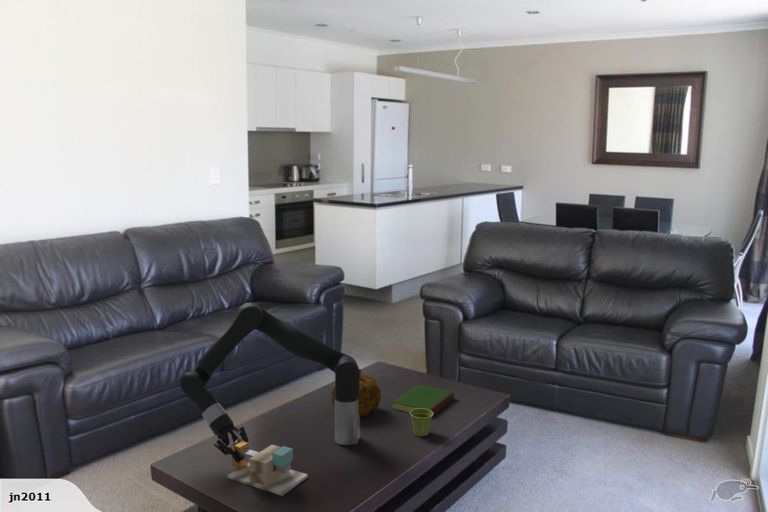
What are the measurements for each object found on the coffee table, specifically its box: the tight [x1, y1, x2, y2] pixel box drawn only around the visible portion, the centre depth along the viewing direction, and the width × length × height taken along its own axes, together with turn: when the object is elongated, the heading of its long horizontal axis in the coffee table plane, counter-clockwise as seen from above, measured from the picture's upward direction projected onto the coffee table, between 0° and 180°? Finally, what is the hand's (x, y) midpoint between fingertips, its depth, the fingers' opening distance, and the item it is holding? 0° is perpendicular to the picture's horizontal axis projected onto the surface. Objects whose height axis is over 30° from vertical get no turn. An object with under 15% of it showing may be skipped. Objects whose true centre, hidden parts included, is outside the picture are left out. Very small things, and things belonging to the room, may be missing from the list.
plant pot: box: [409, 408, 434, 437], centre depth 254 cm, size 9×9×9 cm
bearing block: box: [249, 444, 284, 486], centre depth 219 cm, size 7×12×9 cm, turn 151°
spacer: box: [272, 445, 294, 467], centre depth 215 cm, size 4×6×4 cm, turn 151°
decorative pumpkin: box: [330, 368, 382, 418], centre depth 273 cm, size 20×21×20 cm
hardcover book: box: [391, 384, 455, 416], centre depth 285 cm, size 25×19×4 cm
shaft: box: [231, 441, 292, 473], centre depth 220 cm, size 23×4×8 cm, turn 61°
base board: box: [226, 464, 309, 497], centre depth 220 cm, size 24×14×1 cm, turn 61°
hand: (244, 458), depth 224 cm, fingers closed on shaft, 4 cm apart
